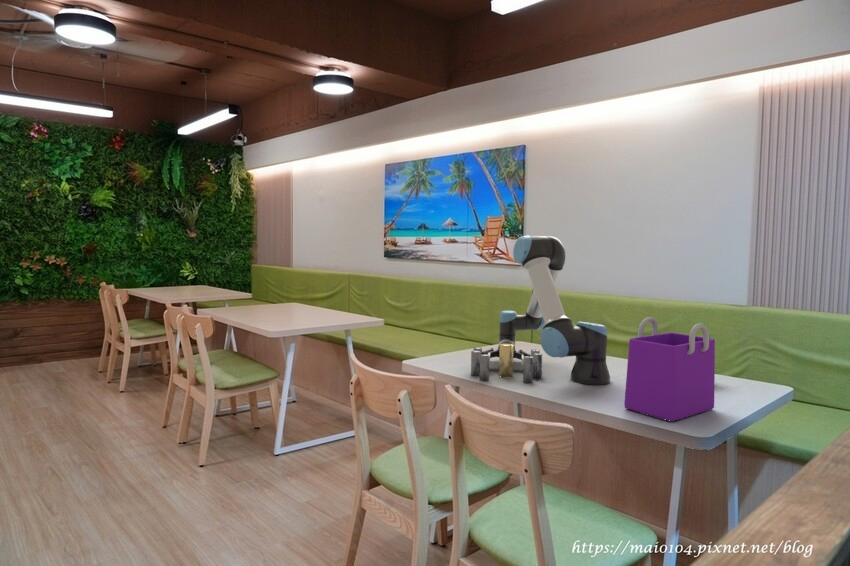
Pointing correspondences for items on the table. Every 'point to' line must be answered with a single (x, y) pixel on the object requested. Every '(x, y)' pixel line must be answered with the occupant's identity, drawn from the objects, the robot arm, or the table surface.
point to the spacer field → (530, 367)
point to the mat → (495, 366)
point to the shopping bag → (670, 373)
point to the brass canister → (506, 360)
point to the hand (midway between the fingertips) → (505, 360)
